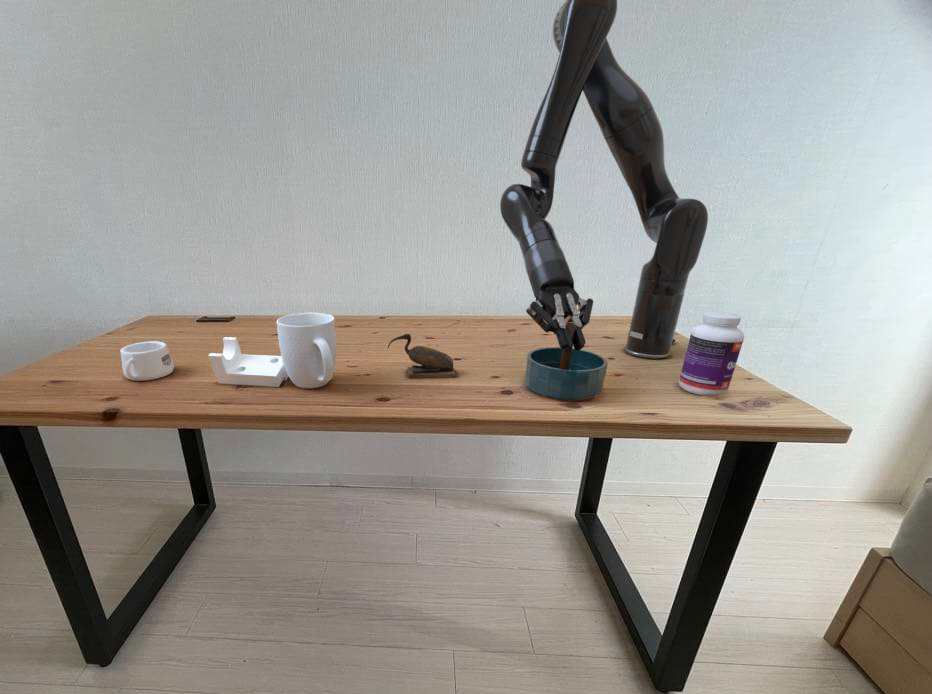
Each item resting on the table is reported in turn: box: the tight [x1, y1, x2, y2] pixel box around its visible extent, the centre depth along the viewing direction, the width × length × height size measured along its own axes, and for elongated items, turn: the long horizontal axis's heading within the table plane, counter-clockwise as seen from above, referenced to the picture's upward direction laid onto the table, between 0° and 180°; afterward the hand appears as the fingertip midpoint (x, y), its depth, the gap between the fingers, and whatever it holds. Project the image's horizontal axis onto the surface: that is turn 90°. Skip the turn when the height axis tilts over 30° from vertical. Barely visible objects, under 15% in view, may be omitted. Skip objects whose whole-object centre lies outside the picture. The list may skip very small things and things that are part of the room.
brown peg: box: [559, 323, 576, 370], centre depth 85 cm, size 5×5×12 cm
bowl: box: [524, 346, 609, 401], centre depth 87 cm, size 14×14×6 cm
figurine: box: [387, 333, 456, 379], centre depth 94 cm, size 14×4×9 cm, turn 91°
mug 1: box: [120, 340, 175, 382], centre depth 95 cm, size 12×10×6 cm
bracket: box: [207, 336, 289, 388], centre depth 92 cm, size 13×7×8 cm, turn 80°
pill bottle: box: [677, 310, 745, 397], centre depth 83 cm, size 8×8×14 cm
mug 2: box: [276, 312, 338, 389], centre depth 88 cm, size 15×11×13 cm
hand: (574, 348), depth 83 cm, fingers closed on brown peg, 2 cm apart
